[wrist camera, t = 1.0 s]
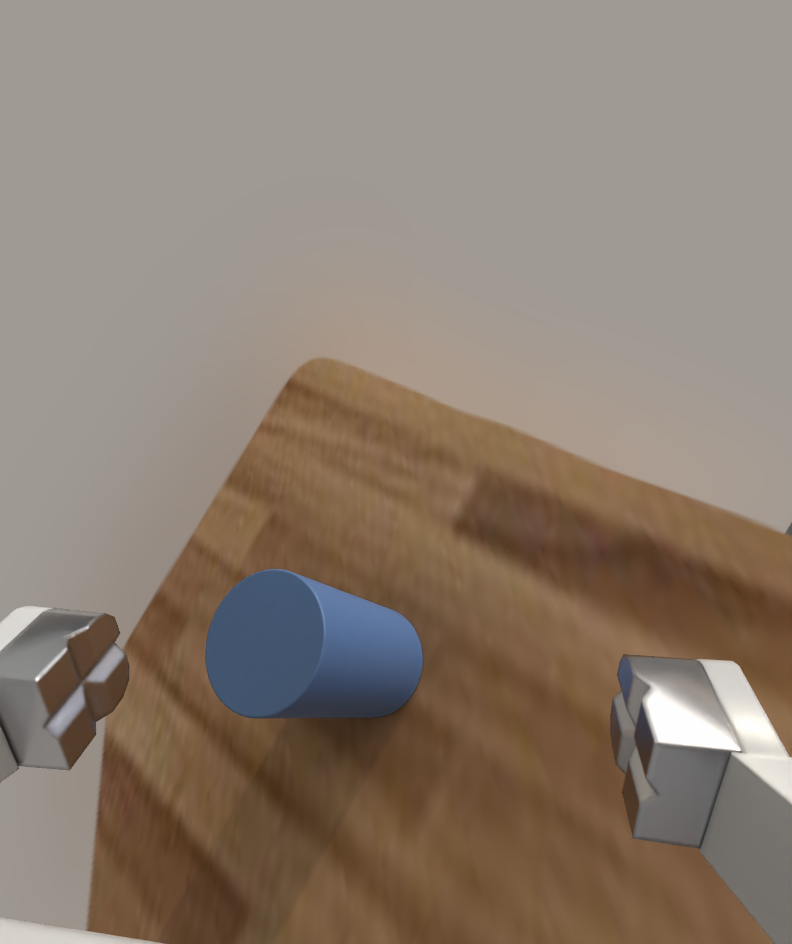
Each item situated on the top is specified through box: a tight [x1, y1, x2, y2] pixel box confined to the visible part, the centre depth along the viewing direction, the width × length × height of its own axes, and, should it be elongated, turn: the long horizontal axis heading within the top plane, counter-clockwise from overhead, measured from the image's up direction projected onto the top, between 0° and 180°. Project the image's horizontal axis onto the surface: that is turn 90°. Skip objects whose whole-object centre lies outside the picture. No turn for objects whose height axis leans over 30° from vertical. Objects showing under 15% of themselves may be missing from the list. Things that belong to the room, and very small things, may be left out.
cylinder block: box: [206, 569, 423, 718], centre depth 27 cm, size 6×6×10 cm
